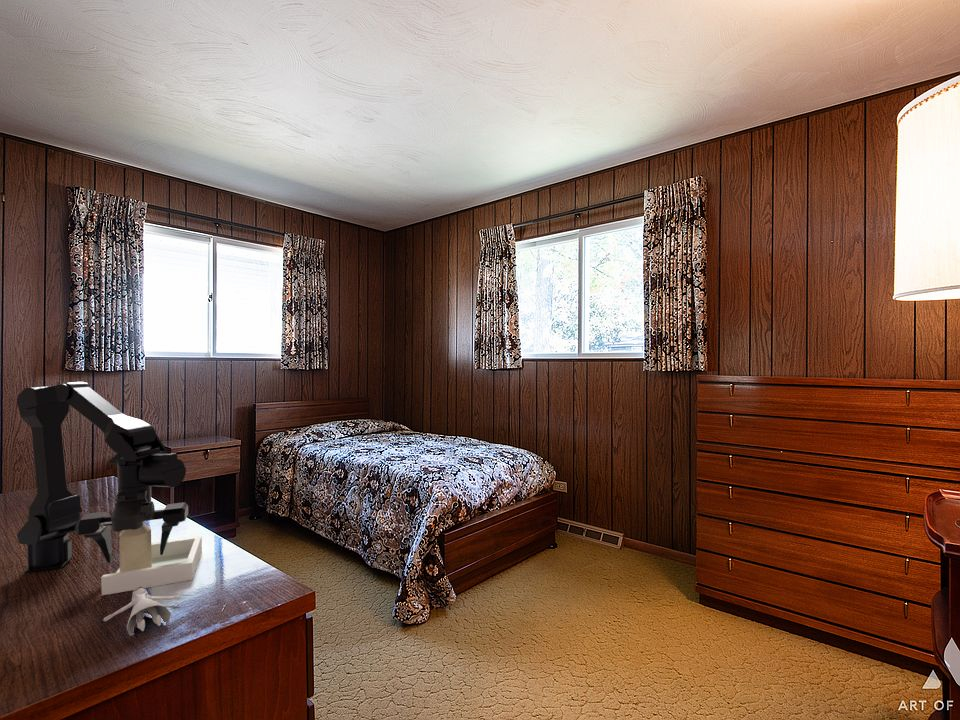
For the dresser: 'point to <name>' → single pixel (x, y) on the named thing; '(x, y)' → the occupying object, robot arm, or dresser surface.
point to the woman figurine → (145, 609)
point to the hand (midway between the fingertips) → (136, 558)
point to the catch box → (158, 567)
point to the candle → (135, 549)
